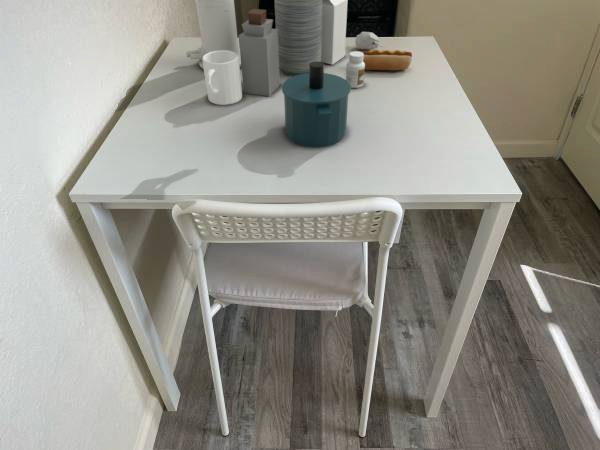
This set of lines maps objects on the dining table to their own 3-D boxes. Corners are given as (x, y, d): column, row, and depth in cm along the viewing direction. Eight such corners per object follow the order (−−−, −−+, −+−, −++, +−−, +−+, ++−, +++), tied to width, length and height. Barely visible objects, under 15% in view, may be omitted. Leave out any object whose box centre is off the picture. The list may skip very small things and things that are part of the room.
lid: (287, 110, 85) (286, 81, 81) (277, 80, 95) (276, 53, 91) (358, 104, 87) (360, 75, 83) (341, 75, 97) (342, 48, 93)
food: (408, 65, 123) (411, 46, 120) (411, 73, 119) (414, 54, 116) (356, 64, 124) (357, 46, 120) (357, 72, 119) (358, 53, 116)
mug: (195, 110, 104) (188, 68, 98) (216, 88, 113) (211, 48, 107) (228, 114, 103) (223, 72, 96) (247, 92, 111) (243, 51, 105)
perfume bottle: (279, 84, 114) (276, 8, 102) (269, 96, 110) (265, 17, 98) (254, 81, 116) (249, 5, 104) (243, 92, 111) (236, 14, 99)
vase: (305, 82, 115) (305, -18, 100) (268, 72, 120) (263, -25, 105) (329, 66, 123) (332, -29, 108) (293, 57, 128) (291, -35, 112)
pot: (292, 157, 89) (291, 112, 83) (280, 114, 103) (278, 73, 96) (355, 150, 91) (358, 106, 85) (335, 109, 104) (336, 68, 98)
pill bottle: (362, 89, 112) (364, 57, 107) (344, 87, 113) (346, 56, 108) (364, 81, 115) (366, 50, 110) (346, 80, 116) (348, 49, 111)
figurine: (357, 45, 134) (358, 28, 131) (383, 49, 132) (385, 32, 128) (353, 50, 131) (354, 32, 128) (380, 54, 129) (382, 36, 126)
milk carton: (344, 56, 128) (348, -18, 115) (332, 65, 123) (335, -12, 111) (322, 51, 131) (324, -22, 118) (309, 60, 126) (310, -16, 114)
